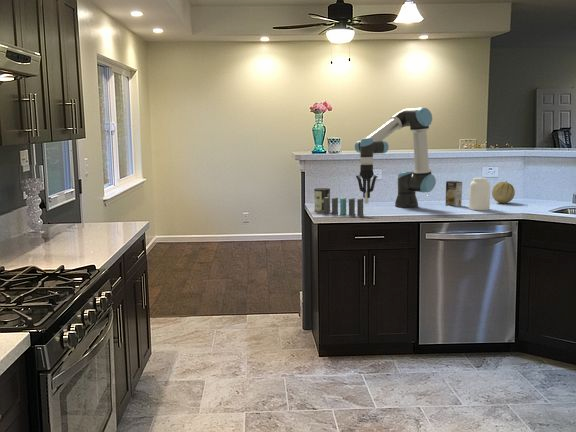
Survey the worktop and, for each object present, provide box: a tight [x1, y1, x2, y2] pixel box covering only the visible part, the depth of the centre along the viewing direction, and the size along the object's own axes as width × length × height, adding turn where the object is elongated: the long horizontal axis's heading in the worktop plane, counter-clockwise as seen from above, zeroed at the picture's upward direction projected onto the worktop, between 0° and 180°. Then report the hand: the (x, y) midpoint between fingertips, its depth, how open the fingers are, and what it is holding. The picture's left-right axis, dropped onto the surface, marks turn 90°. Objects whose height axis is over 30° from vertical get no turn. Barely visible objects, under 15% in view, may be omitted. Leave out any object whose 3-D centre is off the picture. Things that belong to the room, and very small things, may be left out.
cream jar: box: [468, 177, 491, 211], centre depth 387 cm, size 12×12×20 cm
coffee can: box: [313, 187, 331, 213], centre depth 394 cm, size 10×10×14 cm
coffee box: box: [445, 180, 463, 207], centre depth 409 cm, size 9×6×16 cm
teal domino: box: [339, 197, 347, 216], centre depth 375 cm, size 2×5×10 cm, turn 154°
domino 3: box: [348, 197, 356, 216], centre depth 373 cm, size 2×5×10 cm, turn 154°
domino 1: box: [323, 196, 331, 215], centre depth 380 cm, size 2×5×10 cm, turn 154°
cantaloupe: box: [491, 180, 516, 204], centre depth 416 cm, size 15×15×15 cm
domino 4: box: [356, 197, 364, 217], centre depth 370 cm, size 2×5×10 cm, turn 154°
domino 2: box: [331, 197, 339, 215], centre depth 377 cm, size 2×5×10 cm, turn 154°
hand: (366, 203), depth 368 cm, fingers closed
